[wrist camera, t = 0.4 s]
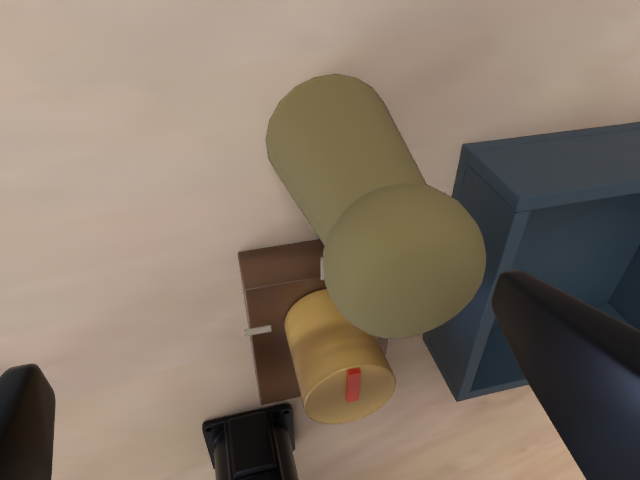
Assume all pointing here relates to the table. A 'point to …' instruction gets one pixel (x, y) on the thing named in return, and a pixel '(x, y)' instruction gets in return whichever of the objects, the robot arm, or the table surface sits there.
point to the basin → (544, 239)
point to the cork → (373, 210)
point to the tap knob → (335, 362)
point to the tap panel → (278, 309)
